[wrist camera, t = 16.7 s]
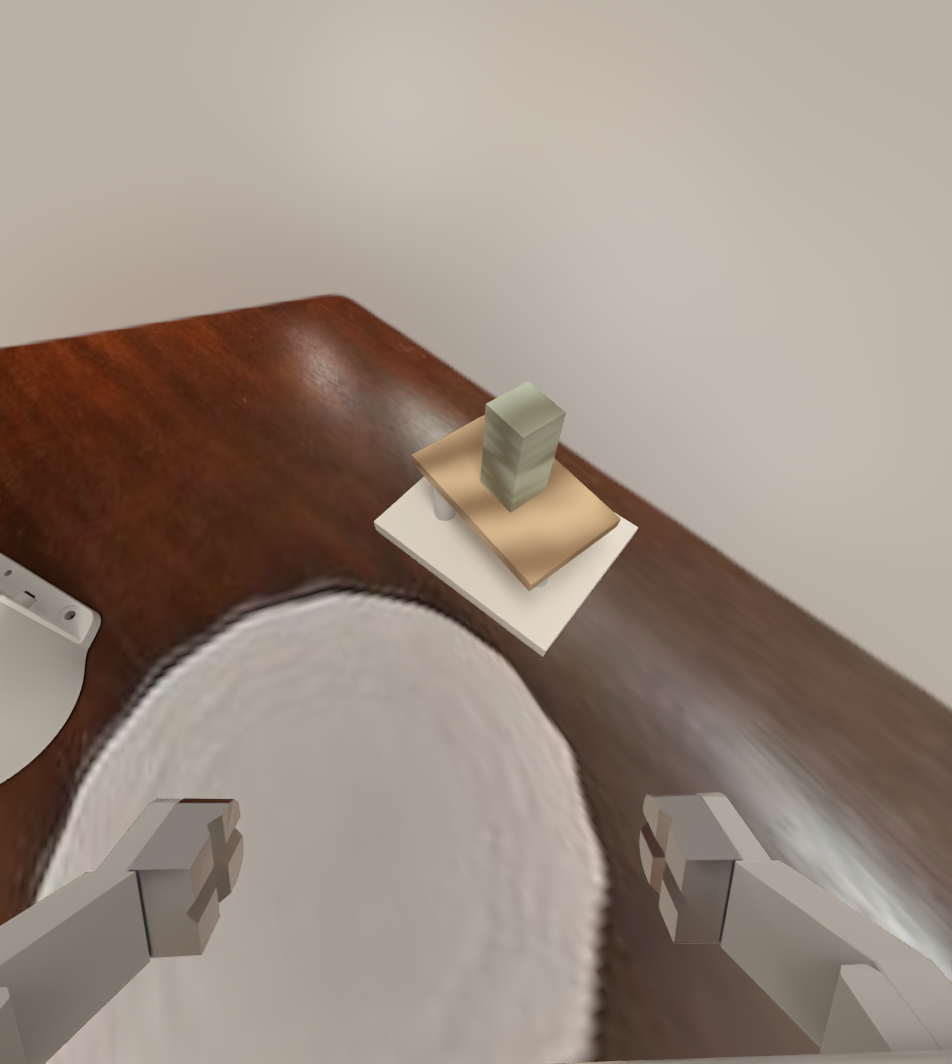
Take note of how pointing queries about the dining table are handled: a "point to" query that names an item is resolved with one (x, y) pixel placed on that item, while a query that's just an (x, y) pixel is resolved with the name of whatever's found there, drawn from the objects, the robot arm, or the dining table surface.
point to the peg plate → (496, 566)
